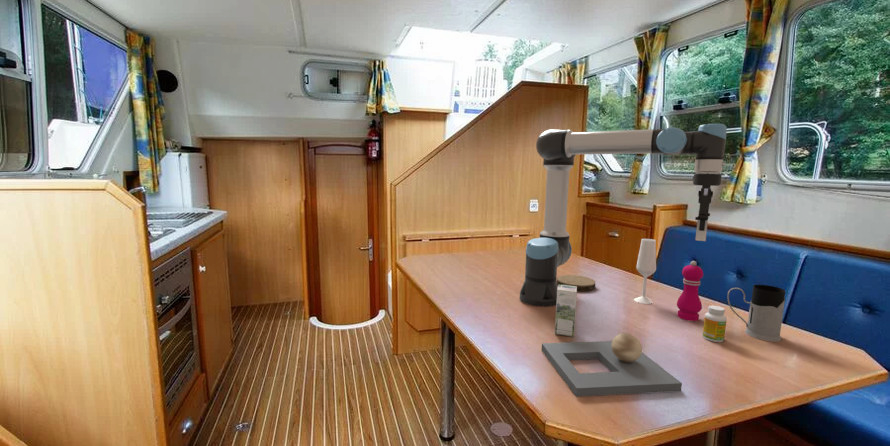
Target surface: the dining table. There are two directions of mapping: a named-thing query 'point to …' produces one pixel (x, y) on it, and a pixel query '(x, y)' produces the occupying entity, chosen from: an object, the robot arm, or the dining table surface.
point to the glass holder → (764, 312)
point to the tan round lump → (626, 347)
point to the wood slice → (577, 282)
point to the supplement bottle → (714, 324)
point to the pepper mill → (690, 293)
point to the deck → (618, 381)
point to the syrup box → (565, 310)
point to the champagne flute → (646, 265)
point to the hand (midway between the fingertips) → (700, 237)
